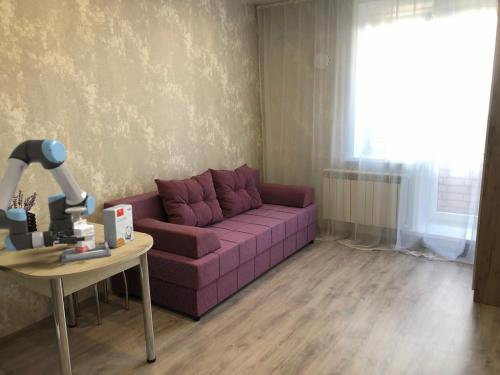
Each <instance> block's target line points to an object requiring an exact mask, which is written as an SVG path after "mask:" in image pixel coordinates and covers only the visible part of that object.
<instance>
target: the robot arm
mask: <svg viewBox="0 0 500 375" xmlns="http://www.w3.org/2000/svg"><path fill="white" fill-rule="evenodd" d="M66 158H67V152H66V148H65V146H64V144H63V143H62V142H61V141H59V140H57V139H53V138H52V139H51V138H47V139H27V140H23V141H22V142H21V143H20V142H19V144H18V145H16V147H15V148H14V149H12V152H11V153H10V155H9V156H8V159H7V161H6V162H7V164H8V165H7V166H6V169H5V170H4V173H3V175H2V176H1V177H2V178H1V180H0V230H8V234H9V235H5V237H4V247H5V250H6V251H7V252H20V251H26V250H27V251H28V250H34V249H35V250H39V249H41V248H42V249H43V247H44V248H50V247H51V248H52V247H54V245H67V244H78V242H83V241H91V240H92V234H91V235H83V236H77V237H74V236H73V235H74V228H73V229H72V227H73V221H72V219H73V215H71V213H66V212H65V210H66V209H68V208H73V207H86V208H87V210H86V211H84V212H82V213H81V215H80V217H88V216H91V215H92V214H93V213H94V212H95V210H96V209H95V208H96V200H95V197H94V196H93V195H88V193H87V192H86V190H84V189H81V188H80V186H79V184H78V183H77V181H76V179H75V177H74V176H73V175H72V173H71V171H70V170H69V168H68V166H67V164H66V163H65V162H66ZM35 163H36V164H39V165H41V167H42V169H44V170H47V171H48V172H49V173H50V175H51V176H52V178H53V179H54V181H55V182H56V184H57V185H58V187H59V188H60V190H61V191H62V193H61V192H60V193H56V194H52V195H49V196H48V197H47V205H48V213H49V225H48V229H47V230H45V231H36V232H29V228H28V227H29V226H28V217H27V216H28V215H27V212H26V210H25V209H24V208H23V207H18V208H16V207H15V208H10V205H11V203H12V201H13V198H14V195H15V193H16V191H17V189H18V186H19V184H20V182H21V179H22V177H23V174H24V172H25V170H27V169H28V168H29V167H30V165H31V164H35ZM9 208H10V209H9Z"/></svg>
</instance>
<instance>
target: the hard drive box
mask: <svg viewBox="0 0 500 375" xmlns="http://www.w3.org/2000/svg"><path fill="white" fill-rule="evenodd" d="M102 219H103V222H102V224H103V236H104V238H103V239H104V241H107V244H108V245H109V248H113V249H114V248H116V249H117V248H119V247H122V246H123V245H125V244H128V243H130V242H132V241H133V239H134V226H133V206H132V204H122V203H121V204H117V205H114V206H111V207H108V208H104V209H103V210H102ZM131 240H132V241H131ZM129 241H130V242H129ZM127 242H128V243H127Z"/></svg>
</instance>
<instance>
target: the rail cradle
mask: <svg viewBox="0 0 500 375" xmlns="http://www.w3.org/2000/svg"><path fill="white" fill-rule="evenodd" d="M110 248H111V247H109V245H108V244H107V241H105V240H104V244H95V248H94V249H91V250H89V251H86V252H83V253H81V252H76V251H75V248H72V249H68V248H66V249H65V251H61V264H65V263H72V262H78V261H85V260H92V259H99V258H107V257H112V254H111V249H110Z"/></svg>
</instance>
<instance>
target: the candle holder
mask: <svg viewBox="0 0 500 375" xmlns="http://www.w3.org/2000/svg"><path fill="white" fill-rule="evenodd" d="M86 210H87V208H86V207H73V208H68V209H66V210H65V212H66V213H71V215H73V216H72V221H73V227H72V229H73V228H74V222H77V221H80V220H83V218H82V216H80V215H81V213H82V212H84V211H86ZM82 223H83V222H80V223H79V224H82ZM79 224H78V225H79ZM72 237H74V235H72ZM72 248H75V244H66V249H72Z"/></svg>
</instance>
